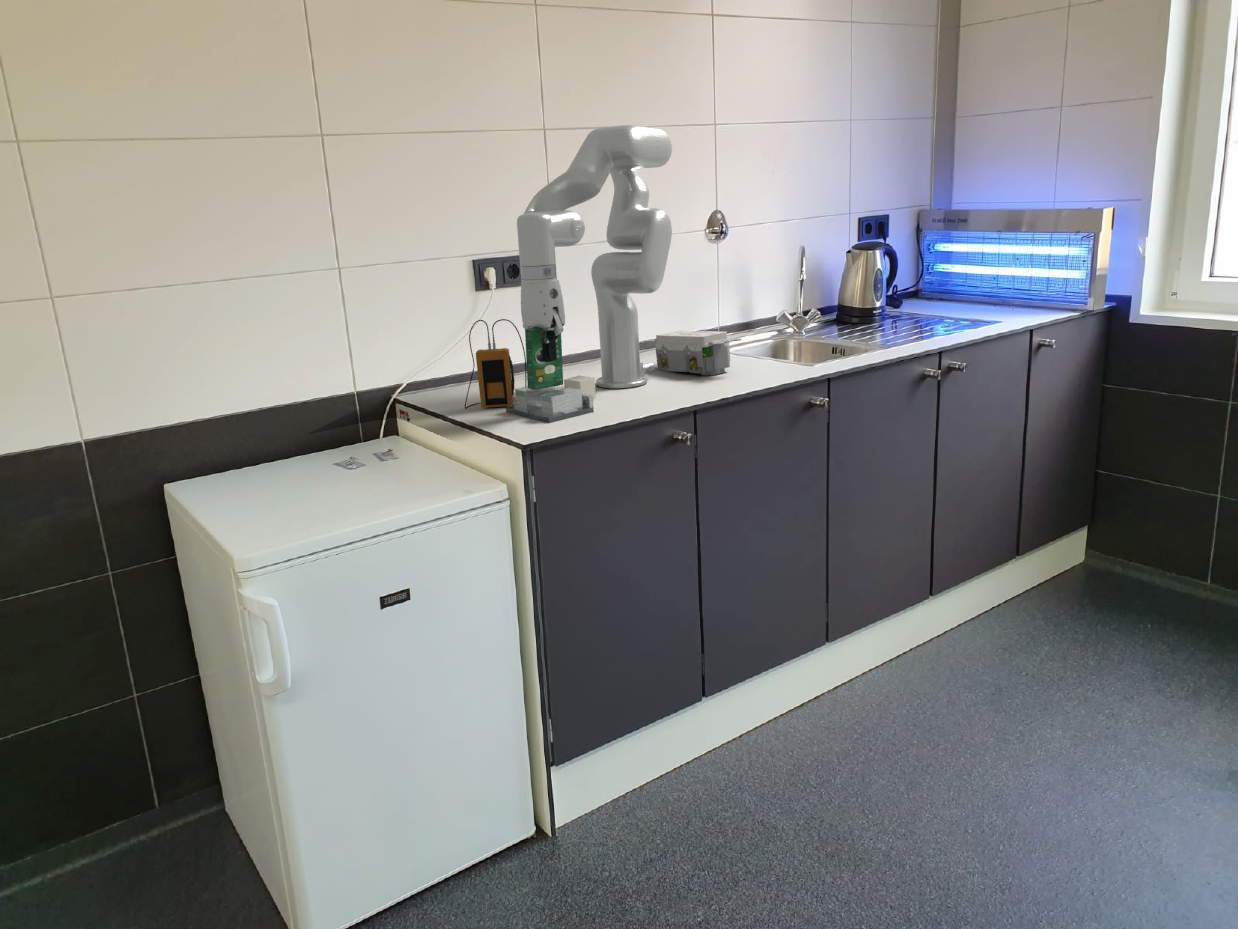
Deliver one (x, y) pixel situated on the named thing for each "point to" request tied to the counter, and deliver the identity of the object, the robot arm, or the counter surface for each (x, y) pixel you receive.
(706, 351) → the grey electrical enclosure
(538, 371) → the coffee box
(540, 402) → the rail base
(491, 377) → the multimeter
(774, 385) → the counter surface
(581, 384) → the block
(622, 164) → the robot arm
